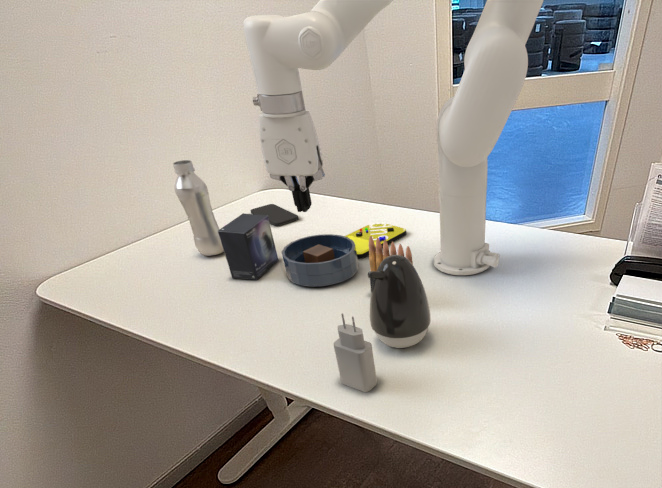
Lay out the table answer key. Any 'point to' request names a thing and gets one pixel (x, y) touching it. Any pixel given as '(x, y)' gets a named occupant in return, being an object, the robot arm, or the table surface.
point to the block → (318, 254)
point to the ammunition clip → (383, 254)
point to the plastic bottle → (197, 208)
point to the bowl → (322, 271)
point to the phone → (275, 214)
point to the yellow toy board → (375, 236)
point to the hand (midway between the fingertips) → (304, 209)
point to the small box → (248, 246)
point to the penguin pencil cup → (398, 303)
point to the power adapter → (354, 358)
